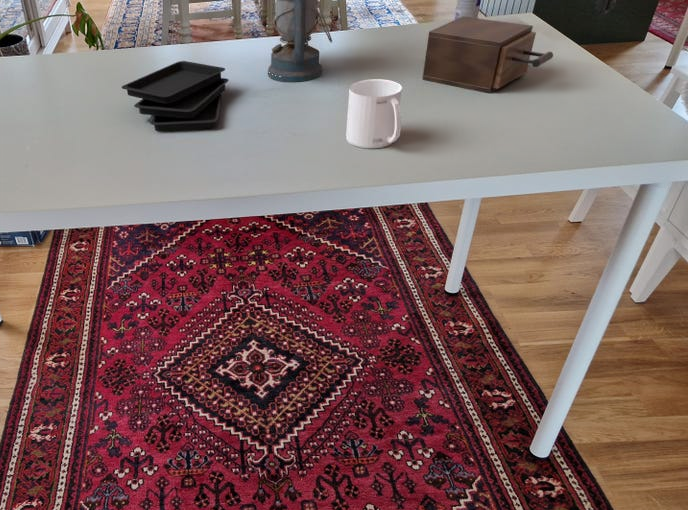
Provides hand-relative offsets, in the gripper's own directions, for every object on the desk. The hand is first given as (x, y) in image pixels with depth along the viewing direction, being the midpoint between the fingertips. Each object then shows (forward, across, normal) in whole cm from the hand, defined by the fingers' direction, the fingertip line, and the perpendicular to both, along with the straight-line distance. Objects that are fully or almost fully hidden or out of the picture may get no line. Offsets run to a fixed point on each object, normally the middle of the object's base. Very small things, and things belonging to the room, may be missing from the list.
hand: (603, 12), depth 117 cm
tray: (+14, -64, -50) cm, 82 cm away
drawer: (+14, -18, 0) cm, 23 cm away
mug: (+15, -20, -41) cm, 48 cm away
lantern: (+15, -57, -18) cm, 61 cm away
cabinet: (+15, -23, 0) cm, 27 cm away
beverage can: (+15, -41, +29) cm, 52 cm away
